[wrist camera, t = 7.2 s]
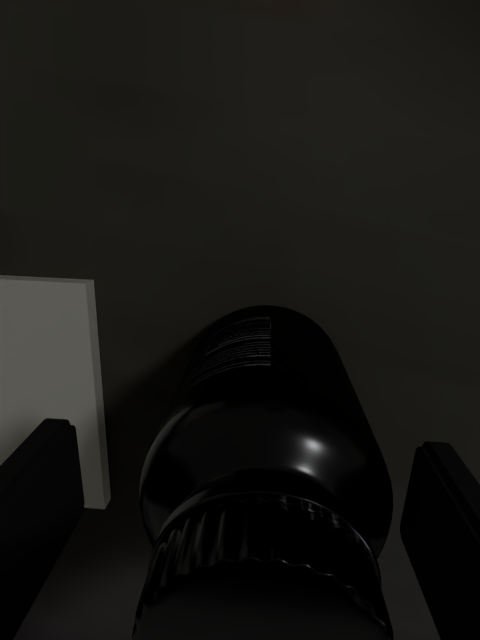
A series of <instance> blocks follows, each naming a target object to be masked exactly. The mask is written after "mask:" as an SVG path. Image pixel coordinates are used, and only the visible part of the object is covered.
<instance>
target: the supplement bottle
mask: <svg viewBox="0 0 480 640" xmlns="http://www.w3.org/2000/svg"><path fill="white" fill-rule="evenodd" d="M139 501H140V509H141V515H142V520H143V523H144V527H145V530H146V533H147V536H148V538H149V541H150V543H151V544H152V546H153V549H152V553H151V556H150V561H149V567H148V575H147V578H146V581H145V584H144V587H143V591H142V594H141V597H140V600H139V603H138V607H137V611H136V618H135V624H134V628H133V634H132V639H133V640H394V638H393V630H392V626H391V622H390V619H389V615H388V611H387V608H386V604H385V601H384V597H383V594H382V590H381V575H380V570H379V565H378V562H377V558H378V556H379V555H380V553H381V551H382V549H383V547H384V544H385V541H386V539H387V536H388V533H389V529H390V525H391V520H392V512H393V492H392V485H391V480H390V476H389V473H388V469H387V466H386V464H385V461H384V458H383V456H382V453H381V451H380V448H379V446H378V444H377V441H376V439H375V437H374V434H373V432H372V430H371V427H370V425H369V423H368V420H367V418H366V416H365V413H364V411H363V409H362V407H361V404H360V402H359V400H358V397H357V395H356V393H355V390H354V388H353V386H352V384H351V381H350V379H349V377H348V374H347V372H346V370H345V367H344V365H343V363H342V360H341V358H340V356H339V354H338V352H337V350H336V348H335V346H334V344H333V342H332V341H331V339H330V338H329V337H328V335H327V334H326V333H325V332H324V330H323V329H322V328H321V327H320V326H319V325H318V324H316V323H315V322H314V321H312V320H311V319H310V318H308V317H306V316H305V315H303V314H301V313H299V312H296V311H294V310H291V309H287V308H284V307H278V306H269V305H264V306H252V307H248V308H244V309H240V310H237V311H235V312H233V313H230V314H229V315H227V316H225V317H223V318H222V319H220V320H219V321H218V322H217V323H215V324H214V325H213V326H212V327H211V328H210V329H209V330H208V331H207V333H206V334H205V335H204V336H203V338H202V339H201V341H200V342H199V344H198V346H197V348H196V350H195V352H194V354H193V356H192V358H191V360H190V362H189V364H188V367H187V369H186V371H185V373H184V375H183V377H182V379H181V382H180V384H179V386H178V388H177V390H176V392H175V395H174V397H173V399H172V401H171V403H170V405H169V407H168V410H167V412H166V414H165V416H164V418H163V420H162V422H161V425H160V427H159V429H158V431H157V433H156V435H155V438H154V440H153V442H152V444H151V446H150V449H149V451H148V454H147V457H146V460H145V463H144V466H143V469H142V473H141V478H140V488H139Z"/></svg>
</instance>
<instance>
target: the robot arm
mask: <svg viewBox="0 0 480 640" xmlns="http://www.w3.org/2000/svg"><path fill="white" fill-rule="evenodd" d="M84 504H85V502H84V492H83V484H82V476H81V467H80V459H79V450H78V442H77V433H76V427H75V426H74V425H70V422H69V420H67V419H54V418H46V419H45V420H43V421H42V422H41V423H40V424H39V425H38V426H37V428H36V429H35V430H34V431H33V432H32V433H31V434H30V435H29V436H28V437H27V438H26V439H25V440H24V441H23V442H22V443H21V444H20V445H19V446H18V448H17V449H16V450H15V451H14V452H13V453H12V454H11V455H10V456H9V457H8V458H7V459H6V460H5V461H4V462H3V463H2V464H1V465H0V640H13V638H14V636H15V635H16V633H17V631H18V629H19V627H20V626H21V624H22V622H23V620H24V619H25V617H26V615H27V613H28V611H29V610H30V608H31V606H32V604H33V602H34V601H35V599H36V597H37V595H38V593H39V592H40V590H41V588H42V586H43V584H44V583H45V581H46V579H47V577H48V575H49V574H50V572H51V570H52V568H53V566H54V565H55V563H56V561H57V559H58V557H59V556H60V554H61V552H62V550H63V548H64V547H65V545H66V543H67V541H68V539H69V538H70V536H71V534H72V532H73V530H74V529H75V527H76V525H77V523H78V521H79V520H80V518H81V516H82V513H83V510H84ZM400 533H401V538H402V541H403V544H404V546H405V549H406V551H407V554H408V556H409V559H410V562H411V564H412V567H413V569H414V572H415V574H416V577H417V580H418V582H419V585H420V587H421V590H422V592H423V595H424V598H425V600H426V603H427V605H428V608H429V610H430V613H431V615H432V618H433V621H434V623H435V626H436V628H437V631H438V633H439V636H440V639H441V640H480V485H479V483H478V482H477V481H476V479H475V478H474V476H473V475H472V474H471V472H470V471H469V470H468V468H467V467H466V465H465V464H464V463H463V461H462V460H461V458H460V457H459V456H458V454H457V453H456V452H455V450H454V449H453V447H452V446H451V445H450V444H449V443H442V442H424V444H423V446H422V447H417V449H416V451H415V456H414V461H413V466H412V471H411V475H410V480H409V485H408V490H407V495H406V499H405V504H404V509H403V514H402V519H401V524H400Z"/></svg>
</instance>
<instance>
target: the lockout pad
mask: <svg viewBox="0 0 480 640" xmlns="http://www.w3.org/2000/svg"><path fill="white" fill-rule="evenodd" d="M46 418H54V419H67V420H69V422H70V425H74V426H75V427H76V433H77V442H78V450H79V459H80V467H81V476H82V484H83V492H84V502H85V504H84V508H95V509H105V508H106V506H107V505H108V503H109V501H110V499H111V493H110V480H109V467H108V455H107V442H106V429H105V417H104V404H103V391H102V379H101V366H100V353H99V341H98V328H97V315H96V303H95V290H94V280H85V279H65V278H46V277H26V276H7V275H0V465H1V464H2V463H3V462H4V461H5V460H6V459H7V458H8V457H9V456H10V455H11V454H12V453H13V452H14V451H15V450H16V449H17V448H18V446H19V445H20V444H21V443H22V442H23V441H24V440H25V439H26V438H27V437H28V436H29V435H30V434H31V433H32V432H33V431H34V430H35V429H36V428H37V426H38V425H39V424H40V423H41V422H42V421H43V420H45V419H46Z"/></svg>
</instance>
